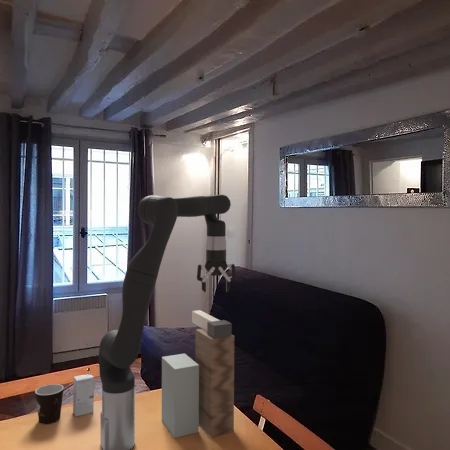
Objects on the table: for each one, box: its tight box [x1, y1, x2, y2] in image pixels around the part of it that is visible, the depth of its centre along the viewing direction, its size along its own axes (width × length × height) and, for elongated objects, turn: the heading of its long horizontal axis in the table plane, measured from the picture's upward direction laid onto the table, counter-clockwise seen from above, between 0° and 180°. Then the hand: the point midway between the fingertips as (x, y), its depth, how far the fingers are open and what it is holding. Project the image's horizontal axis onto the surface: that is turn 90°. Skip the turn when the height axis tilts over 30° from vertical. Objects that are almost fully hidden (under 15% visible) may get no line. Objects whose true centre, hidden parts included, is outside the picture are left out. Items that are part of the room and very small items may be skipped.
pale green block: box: [161, 353, 200, 439], centre depth 131 cm, size 8×12×21 cm, turn 27°
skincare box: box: [72, 373, 95, 417], centre depth 140 cm, size 6×4×12 cm
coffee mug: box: [34, 383, 64, 425], centre depth 133 cm, size 12×9×10 cm
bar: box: [191, 309, 233, 339], centre depth 135 cm, size 6×21×4 cm, turn 27°
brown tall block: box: [194, 328, 235, 438], centre depth 131 cm, size 8×12×30 cm, turn 27°
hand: (216, 291), depth 153 cm, fingers open, 8 cm apart
